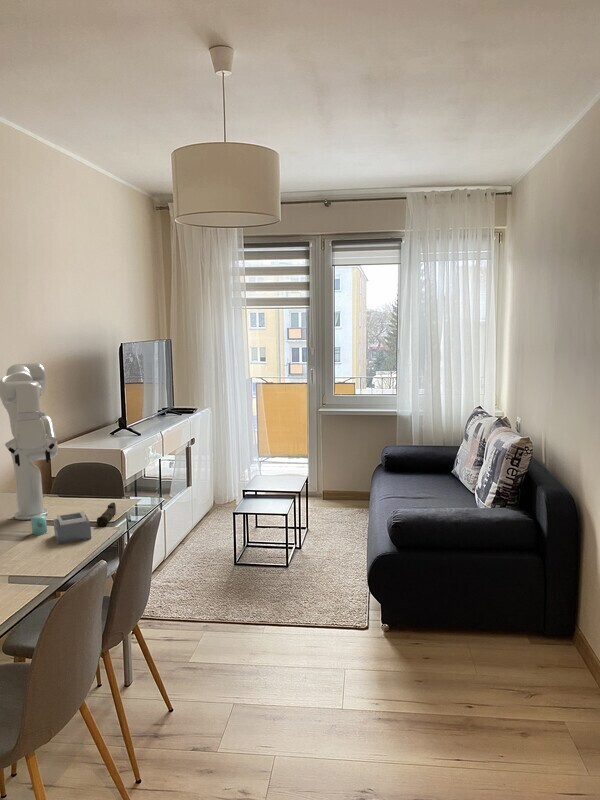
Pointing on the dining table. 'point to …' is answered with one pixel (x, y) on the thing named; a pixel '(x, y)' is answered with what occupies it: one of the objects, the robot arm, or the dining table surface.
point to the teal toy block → (39, 524)
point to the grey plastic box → (72, 528)
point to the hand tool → (107, 515)
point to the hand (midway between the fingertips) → (33, 463)
